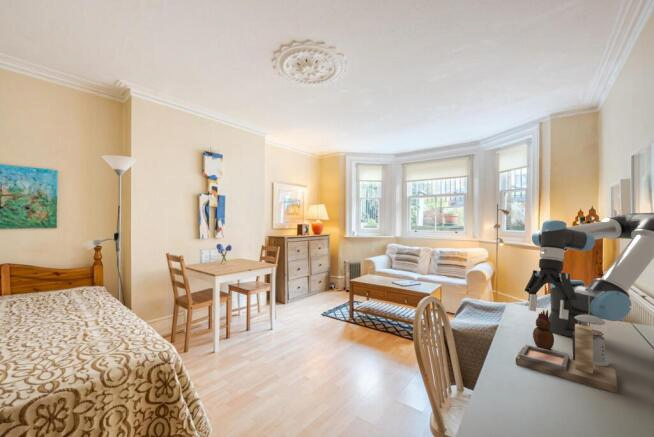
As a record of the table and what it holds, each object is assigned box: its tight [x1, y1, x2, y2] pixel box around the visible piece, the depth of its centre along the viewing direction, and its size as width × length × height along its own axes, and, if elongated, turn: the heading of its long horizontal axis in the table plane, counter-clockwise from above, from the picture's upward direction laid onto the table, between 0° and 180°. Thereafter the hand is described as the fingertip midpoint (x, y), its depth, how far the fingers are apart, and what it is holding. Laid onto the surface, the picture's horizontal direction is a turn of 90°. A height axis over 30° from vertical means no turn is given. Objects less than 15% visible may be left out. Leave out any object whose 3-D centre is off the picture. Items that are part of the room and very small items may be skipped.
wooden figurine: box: [532, 309, 555, 350], centre depth 110 cm, size 7×6×15 cm
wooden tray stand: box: [515, 324, 618, 394], centre depth 93 cm, size 24×13×15 cm, turn 46°
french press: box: [571, 288, 610, 367], centre depth 102 cm, size 10×12×25 cm
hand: (546, 314), depth 110 cm, fingers open, 13 cm apart
